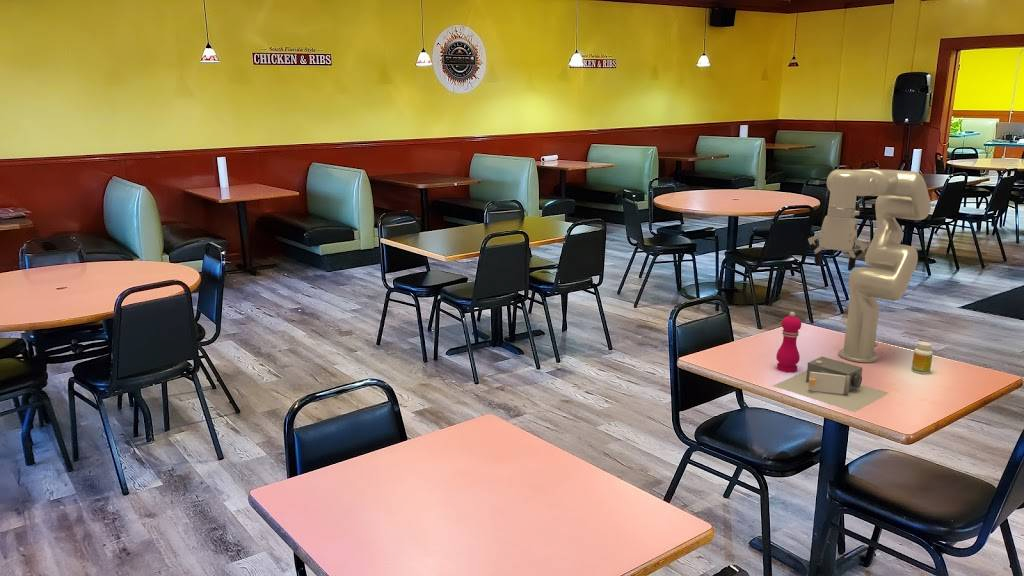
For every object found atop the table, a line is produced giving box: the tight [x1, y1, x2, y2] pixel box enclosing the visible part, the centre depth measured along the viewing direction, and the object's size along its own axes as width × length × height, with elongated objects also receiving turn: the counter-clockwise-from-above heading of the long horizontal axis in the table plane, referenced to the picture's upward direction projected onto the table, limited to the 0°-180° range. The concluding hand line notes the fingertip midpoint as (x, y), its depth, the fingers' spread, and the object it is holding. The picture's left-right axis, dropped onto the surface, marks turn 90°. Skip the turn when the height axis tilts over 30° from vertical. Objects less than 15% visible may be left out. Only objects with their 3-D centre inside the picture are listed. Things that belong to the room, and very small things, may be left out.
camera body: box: [806, 356, 863, 393], centre depth 236 cm, size 9×14×7 cm, turn 41°
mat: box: [772, 370, 889, 413], centre depth 234 cm, size 22×26×1 cm
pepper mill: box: [775, 311, 802, 373], centre depth 248 cm, size 7×7×20 cm
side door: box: [808, 372, 850, 395], centre depth 229 cm, size 2×11×6 cm, turn 71°
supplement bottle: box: [911, 341, 934, 375], centre depth 249 cm, size 5×5×10 cm
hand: (833, 267), depth 237 cm, fingers open, 9 cm apart
